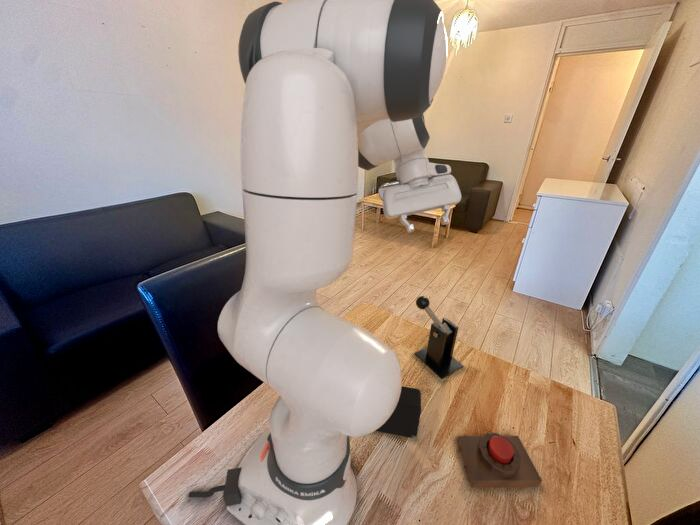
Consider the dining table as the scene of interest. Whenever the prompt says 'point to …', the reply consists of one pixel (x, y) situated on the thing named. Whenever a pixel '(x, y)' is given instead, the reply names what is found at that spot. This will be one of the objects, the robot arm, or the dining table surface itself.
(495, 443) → the button
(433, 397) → the dining table surface
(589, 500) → the dining table surface
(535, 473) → the button block
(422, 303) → the lever
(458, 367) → the bracket
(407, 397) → the electronic device
